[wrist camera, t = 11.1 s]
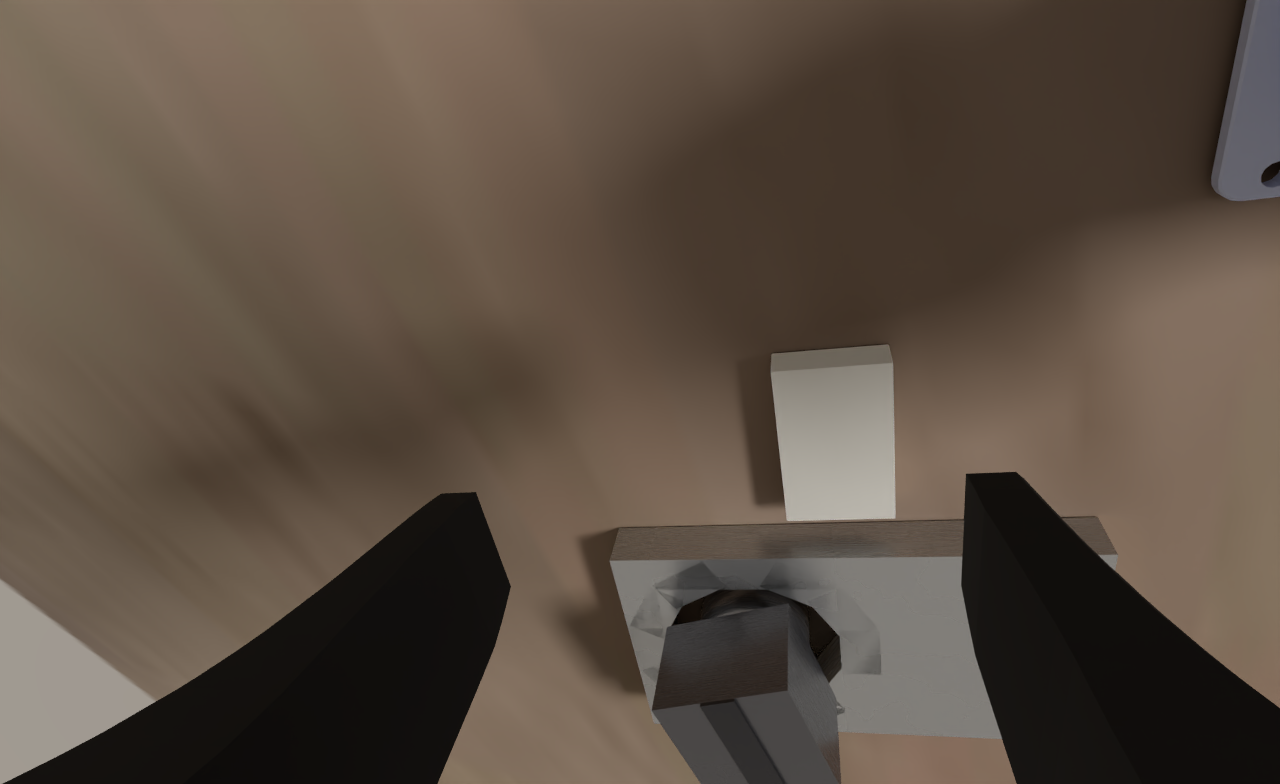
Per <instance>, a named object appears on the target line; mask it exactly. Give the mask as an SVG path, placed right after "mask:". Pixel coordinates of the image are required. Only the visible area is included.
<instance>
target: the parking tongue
mask: <svg viewBox="0 0 1280 784" xmlns="http://www.w3.org/2000/svg"><path fill="white" fill-rule="evenodd" d="M771 380H772V389H773V398H774V407H775V416H776V425H777V435H778V444H779V453H780V462H781V471H782V480H783V489H784V498H785V507H786V517H787V521H805V520H846V519H887V518H895V450H894V383H893V360H892V356H891V352H890V348H889V344H886V345H873V346H861V347H848V348H836V349H823V350H811V351H798V352H786V353H773V354H771Z"/></svg>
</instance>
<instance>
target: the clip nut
mask: <svg viewBox="0 0 1280 784" xmlns="http://www.w3.org/2000/svg"><path fill="white" fill-rule="evenodd" d="M652 712H653V713H654V715H655V716H656V718H657V719H658V721H659V722H660V724H661V725H662V727H663V728H664V730H665V731H666V733H667V734H668V736H669V737H670V739H671V740H672V742H673V743H674V744H675V746H676V747H677V749H678V750H679V752H680V753H681V755H682V756H683V758H684V759H685V761H686V762H687V764H688V765H689V767H690V768H691V770H692V771H693V773H694V774H695V775H696V777H697V778H698V780H699V781H700V783H701V784H841V773H840V756H839V738H838V721H837V704H836V697H835V695H834V693H833V691H832V689H831V687H830V685H829V683H828V681H827V679H826V677H825V675H824V673H823V671H822V669H821V667H820V665H819V663H818V661H817V659H816V657H815V655H814V653H813V651H812V649H811V647H810V643H809V613H808V609H807V606H806V604H803V603H801V602H798V601H796V600H793V599H791V598H788V597H785V596H783V595H780V594H778V593H775V592H773V591H770V590H717V591H715V592H713V593H711V594H708V595H706V596H705V598H704V601H703V605H702V612H701V620H700V621H695V622H689V623H684V624H679V625H674V626H669V627H667V629H666V635H665V640H664V646H663V651H662V656H661V662H660V667H659V673H658V678H657V684H656V689H655V695H654V700H653V705H652Z"/></svg>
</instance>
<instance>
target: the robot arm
mask: <svg viewBox="0 0 1280 784" xmlns="http://www.w3.org/2000/svg"><path fill="white" fill-rule="evenodd" d="M1279 161H1280V0H1247V1H1246V6H1245V11H1244V16H1243V21H1242V26H1241V31H1240V36H1239V41H1238V46H1237V51H1236V56H1235V61H1234V66H1233V71H1232V76H1231V81H1230V86H1229V91H1228V96H1227V101H1226V106H1225V111H1224V116H1223V121H1222V126H1221V131H1220V136H1219V141H1218V146H1217V151H1216V156H1215V161H1214V166H1213V171H1212V176H1211V185H1212V187H1213V189H1214V190H1215V192H1216V193H1218V194H1219V195H1221V196H1223V197H1225V198H1227V199H1229V200H1231V201H1247V200H1256V199H1265V198H1274V197H1280V171H1279V172H1278V174H1277V175H1276V176H1275V177H1274V178H1272V179H1271V180H1268V181H1265V182H1261V175H1262V173H1263V172H1264V170H1265V169H1266V168H1267V167H1268V166H1270V165H1271V164H1273V163H1276V162H1279ZM961 587H962V593H963V598H964V603H965V608H966V613H967V618H968V624H969V628H970V633H971V638H972V643H973V648H974V652H975V657H976V660H977V663H978V666H979V669H980V672H981V676H982V679H983V682H984V685H985V688H986V691H987V694H988V697H989V700H990V703H991V706H992V710H993V713H994V716H995V719H996V722H997V725H998V728H999V731H1000V734H1001V737H1002V740H1003V743H1004V746H1005V749H1006V752H1007V755H1008V758H1009V761H1010V764H1011V767H1012V771H1013V774H1014V777H1015V780H1016V783H1017V784H1280V708H1279V707H1278V706H1276V705H1275V704H1274V703H1272V702H1271V701H1270V700H1268V699H1267V698H1265V697H1264V696H1263V695H1261V694H1260V693H1259V692H1257V691H1256V690H1255V689H1253V688H1252V687H1251V686H1249V685H1248V684H1247V683H1245V682H1244V681H1243V680H1242V679H1240V678H1239V677H1238V676H1236V675H1235V674H1234V673H1233V672H1231V671H1230V670H1229V669H1228V668H1226V667H1225V666H1224V665H1223V664H1221V663H1220V662H1219V661H1218V660H1216V659H1215V658H1214V657H1213V656H1211V655H1210V654H1209V653H1208V652H1206V651H1205V650H1204V649H1203V648H1202V647H1200V646H1199V645H1198V644H1197V643H1196V642H1195V641H1193V640H1192V639H1191V638H1190V637H1189V636H1187V635H1186V634H1185V633H1184V632H1183V631H1182V630H1180V629H1179V628H1178V627H1177V626H1176V625H1174V624H1173V623H1172V622H1171V621H1170V620H1169V619H1167V618H1166V617H1165V616H1164V615H1163V614H1162V613H1161V612H1159V611H1158V610H1157V609H1156V608H1155V607H1154V606H1153V605H1152V604H1150V603H1149V602H1148V601H1147V600H1146V599H1145V598H1144V597H1143V596H1141V595H1140V594H1139V593H1138V592H1137V591H1136V590H1135V589H1134V588H1133V587H1132V586H1131V585H1130V584H1129V583H1128V582H1126V581H1125V580H1124V579H1123V578H1122V577H1121V576H1120V575H1119V574H1118V573H1117V572H1116V571H1115V570H1114V569H1113V568H1111V567H1110V566H1109V565H1108V564H1107V563H1106V562H1105V561H1104V560H1103V559H1102V558H1101V557H1100V556H1099V555H1098V554H1097V553H1096V552H1095V551H1094V550H1093V549H1092V548H1091V547H1089V546H1088V545H1087V544H1086V543H1085V542H1084V541H1083V540H1082V539H1081V538H1080V537H1079V536H1078V535H1077V534H1076V533H1075V532H1074V530H1073V529H1072V528H1071V527H1070V526H1069V525H1068V524H1067V523H1066V522H1065V521H1064V520H1063V519H1062V518H1061V517H1060V516H1059V515H1058V514H1057V513H1056V512H1055V511H1054V510H1053V509H1052V508H1051V507H1050V506H1049V505H1048V504H1047V503H1046V502H1045V501H1044V500H1043V498H1042V497H1041V496H1040V495H1039V494H1038V493H1037V492H1036V491H1035V490H1034V489H1033V488H1032V487H1031V486H1030V485H1029V484H1028V482H1027V481H1026V480H1025V479H1024V478H1022V477H1021V476H1020V475H1019V474H1018V473H1017V472H1003V473H976V474H966V486H965V509H964V531H963V553H962V575H961ZM510 588H511V586H510V583H509V580H508V578H507V575H506V572H505V570H504V567H503V564H502V561H501V559H500V556H499V553H498V551H497V548H496V545H495V543H494V540H493V537H492V535H491V532H490V529H489V527H488V524H487V521H486V519H485V516H484V513H483V510H482V508H481V505H480V502H479V500H478V497H477V494H476V492H471V493H445V494H440V495H439V496H437V497H436V498H434V499H433V500H432V501H430V502H429V503H427V504H426V505H425V506H423V507H422V508H421V509H420V510H418V511H417V512H416V513H414V514H413V515H412V516H411V517H409V518H408V519H407V520H406V521H404V522H403V523H402V524H401V525H399V526H398V527H397V528H396V529H395V530H393V531H392V532H391V533H390V534H388V535H387V536H386V537H385V538H384V539H382V540H381V541H380V542H379V543H377V544H376V545H375V546H374V547H373V548H371V549H370V550H369V551H368V552H366V553H365V554H364V555H363V556H361V557H360V558H359V559H358V560H357V561H355V562H354V563H353V564H352V565H350V566H349V567H348V568H347V569H345V570H344V571H343V572H342V573H341V574H339V575H338V576H337V577H336V578H334V579H333V580H332V581H331V582H329V583H328V584H327V585H325V586H324V587H323V588H321V589H320V590H319V591H318V592H316V593H315V594H314V595H312V596H311V597H310V598H308V599H307V600H306V601H304V602H303V603H302V604H300V605H299V606H298V607H296V608H295V609H294V610H293V611H291V612H290V613H289V614H287V615H286V616H285V617H283V618H282V619H281V620H279V621H278V622H277V623H275V624H274V625H273V626H271V627H270V628H269V629H267V630H266V631H265V632H263V633H262V634H260V635H259V636H258V637H256V638H255V639H253V640H252V641H250V642H249V643H248V644H246V645H245V646H243V647H242V648H240V649H239V650H237V651H236V652H234V653H233V654H231V655H230V656H228V657H227V658H225V659H224V660H222V661H221V662H219V663H218V664H216V665H215V666H213V667H212V668H210V669H209V670H207V671H205V672H204V673H202V674H201V675H199V676H198V677H196V678H195V679H193V680H191V681H190V682H188V683H187V684H185V685H183V686H182V687H180V688H179V689H177V690H175V691H173V692H172V693H170V694H168V695H167V696H165V697H163V698H161V699H160V700H158V701H156V702H155V703H153V704H151V705H149V706H148V707H146V708H144V709H143V710H141V711H139V712H137V713H136V714H134V715H132V716H131V717H129V718H127V719H126V720H124V721H122V722H120V723H118V724H117V725H115V726H114V727H112V728H110V729H108V730H107V731H105V732H103V733H101V734H99V735H97V736H95V737H94V738H92V739H90V740H88V741H86V742H84V743H82V744H80V745H79V746H76V747H75V748H73V749H71V750H69V751H67V752H65V753H63V754H61V755H59V756H57V757H56V758H54V759H52V760H50V761H48V762H46V763H44V764H41V765H39V766H38V767H36V768H33V769H32V770H29V771H27V772H25V773H23V774H21V775H19V776H17V777H16V778H13V779H12V780H10V781H7V782H5V783H3V784H437V783H438V781H439V778H440V776H441V774H442V771H443V769H444V767H445V764H446V762H447V760H448V757H449V755H450V753H451V750H452V748H453V745H454V743H455V741H456V738H457V736H458V734H459V731H460V729H461V727H462V724H463V722H464V719H465V717H466V715H467V712H468V710H469V708H470V705H471V703H472V701H473V698H474V696H475V694H476V691H477V689H478V686H479V684H480V681H481V679H482V677H483V674H484V672H485V669H486V667H487V664H488V662H489V659H490V657H491V654H492V652H493V649H494V647H495V644H496V640H497V637H498V633H499V630H500V626H501V623H502V619H503V616H504V612H505V608H506V604H507V600H508V596H509V592H510Z"/></svg>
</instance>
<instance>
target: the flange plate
mask: <svg viewBox="0 0 1280 784" xmlns="http://www.w3.org/2000/svg"><path fill="white" fill-rule="evenodd" d="M1062 519H1063V520H1064V521H1065V522H1066V523H1067V524H1068V525H1069V526H1070V527H1071V528H1072V529H1073V530H1074V532H1075V533H1076V534H1077V535H1078V536H1079V537H1080V538H1081V539H1082V540H1083V541H1084V542H1085V543H1086V544H1087V545H1088V546H1089V547H1091V548H1092V549H1093V550H1094V551H1095V552H1096V553H1097V554H1098V555H1099V556H1100V557H1101V558H1102V559H1103V560H1104V561H1105V562H1106V563H1107V564H1108V565H1109V566H1110V567H1111V568H1113V569H1114V570H1115V568H1116V563H1117V557H1118V554H1117V552H1116V550H1115V548H1114V546H1113V544H1112V543H1111V541H1110V539H1109V537H1108V535H1107V533H1106V531H1105V529H1104V528H1103V526H1102V524H1101V522H1100V520H1099V518H1098V517H1081V518H1062ZM963 531H964V520H951V521H908V522H865V523H822V524H779V525H736V526H693V527H650V528H619V530H618V534H617V537H616V540H615V544H614V547H613V551H612V554H611V557H610V564H611V568H612V572H613V575H614V579H615V583H616V586H617V590H618V594H619V597H620V601H621V605H622V608H623V612H624V615H625V619H626V623H627V626H628V630H629V634H630V637H631V641H632V645H633V648H634V652H635V656H636V659H637V663H638V667H639V670H640V674H641V677H642V681H643V685H644V688H645V692H646V696H647V699H648V703H649V707H650V710H651V714H652V718H653V721H654V723H655V724H660V722H659V721H658V719H657V718H656V716H655V715H654V713H653V712H652V705H653V700H654V695H655V689H656V684H657V678H658V673H659V667H660V662H661V656H662V651H663V646H664V640H665V635H666V629H667V627H669V626H674V625H678V622H677V617H676V616H677V614H678V613H679V611H680V609H681V608H682V606H684V605H686V604H689V603H691V602H693V601H695V600H697V599H700V598H702V597H704V596H706V595H708V594H711V593H713V592H715V591H717V590H770V591H773V592H775V593H778V594H780V595H783V596H785V597H788V598H791V599H793V600H796V601H798V602H801V603H803V604H806V605H809V606H811V607H813V608H814V609H815V610H816V611H817V613H818V614H819V615H820V616H821V617H822V618H823V619H824V620H825V621H826V622H827V623H828V624H829V625H830V627H831V628H832V629H833V630H834V631H835V632H836V633H837V634H836V636H835V637H834V638H833V639H832V641H831V642H830V643H829V644H828V646H827V647H826V648H825V649H824V651H823V652H822V653H821V654H820V656H818V657H816V659H817V661H818V663H819V665H820V667H821V669H822V671H823V673H824V675H825V677H826V679H827V681H828V683H829V685H830V687H831V689H832V691H833V693H834V695H835V697H836V704H837V721H838V732H857V733H880V734H902V735H925V736H947V737H970V738H992V739H1002V737H1001V734H1000V731H999V728H998V725H997V722H996V719H995V716H994V713H993V710H992V706H991V703H990V700H989V697H988V694H987V691H986V688H985V685H984V682H983V679H982V676H981V672H980V669H979V666H978V663H977V660H976V657H975V652H974V648H973V643H972V638H971V633H970V628H969V624H968V618H967V613H966V608H965V603H964V598H963V593H962V587H961V575H962V553H963Z"/></svg>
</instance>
